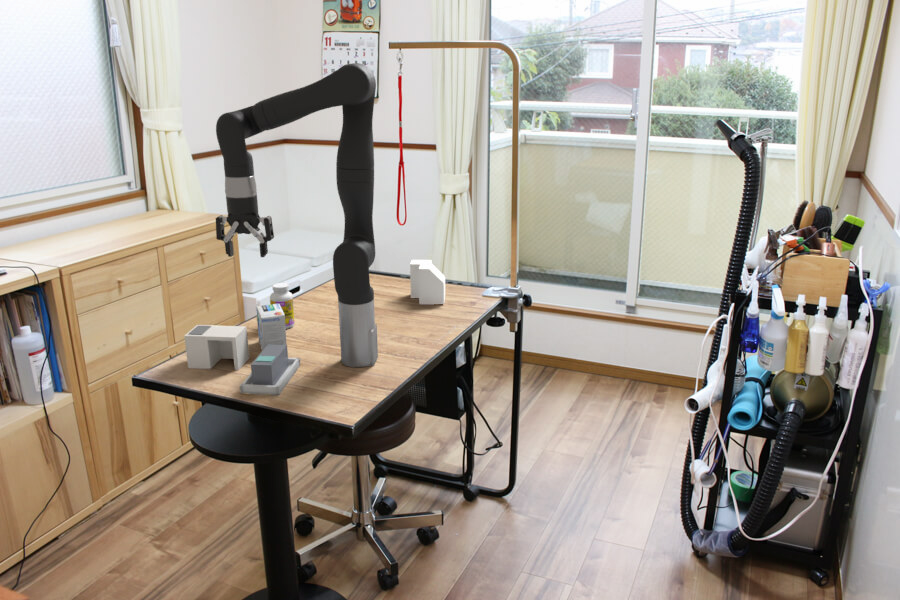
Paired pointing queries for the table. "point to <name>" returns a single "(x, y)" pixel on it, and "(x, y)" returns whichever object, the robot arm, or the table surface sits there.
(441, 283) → the corner bracket
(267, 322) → the light bulb box
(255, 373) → the slab with teal patch
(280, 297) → the supplement bottle
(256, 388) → the tray
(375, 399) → the table surface
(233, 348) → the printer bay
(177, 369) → the table surface
